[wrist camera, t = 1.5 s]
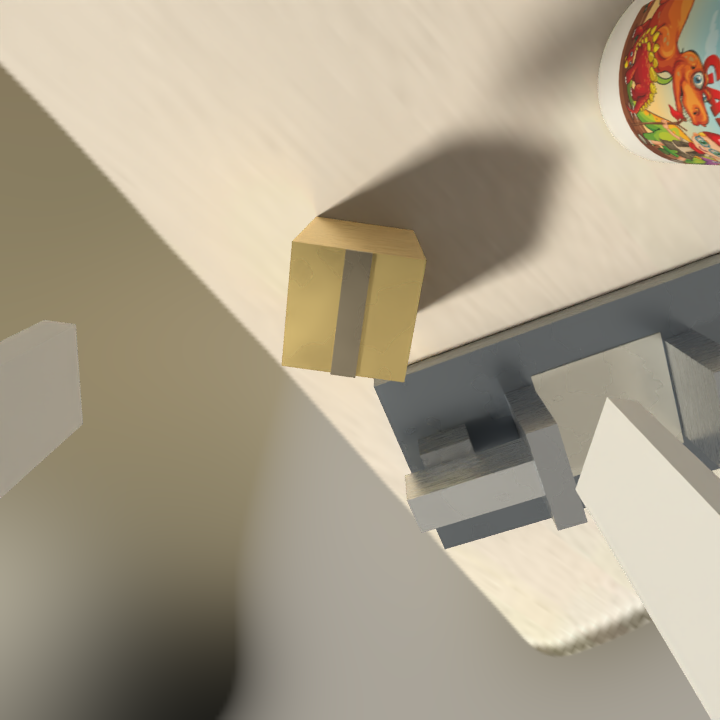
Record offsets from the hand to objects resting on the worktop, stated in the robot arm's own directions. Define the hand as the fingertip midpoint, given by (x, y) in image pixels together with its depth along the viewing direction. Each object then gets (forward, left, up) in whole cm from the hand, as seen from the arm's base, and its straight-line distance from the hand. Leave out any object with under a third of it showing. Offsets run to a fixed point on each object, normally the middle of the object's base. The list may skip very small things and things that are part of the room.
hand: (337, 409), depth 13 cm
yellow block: (0, 0, -16) cm, 16 cm away
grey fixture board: (+12, +10, -16) cm, 22 cm away
